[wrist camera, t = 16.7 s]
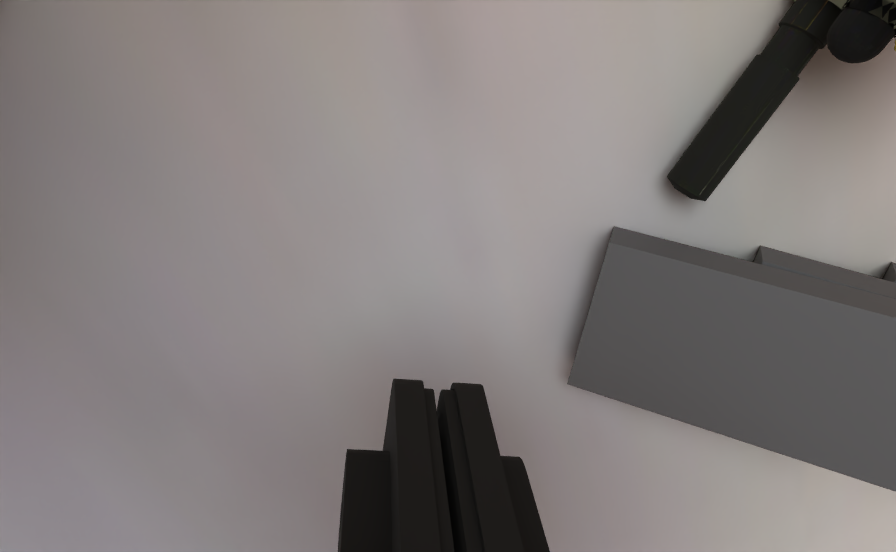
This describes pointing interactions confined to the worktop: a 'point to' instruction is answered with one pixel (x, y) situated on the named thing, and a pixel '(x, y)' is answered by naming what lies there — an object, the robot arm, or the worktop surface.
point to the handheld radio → (780, 81)
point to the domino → (745, 353)
